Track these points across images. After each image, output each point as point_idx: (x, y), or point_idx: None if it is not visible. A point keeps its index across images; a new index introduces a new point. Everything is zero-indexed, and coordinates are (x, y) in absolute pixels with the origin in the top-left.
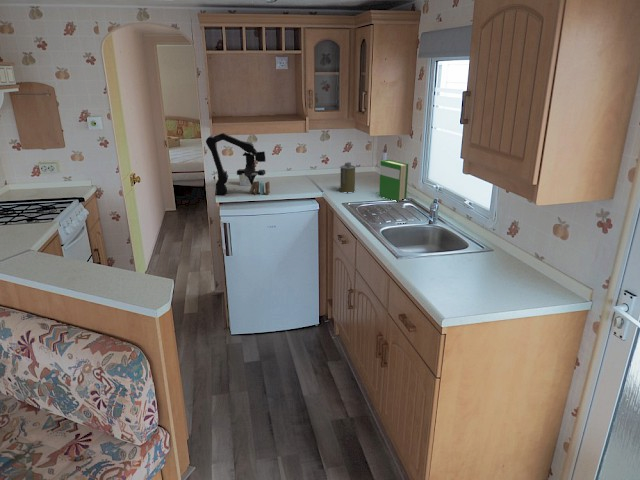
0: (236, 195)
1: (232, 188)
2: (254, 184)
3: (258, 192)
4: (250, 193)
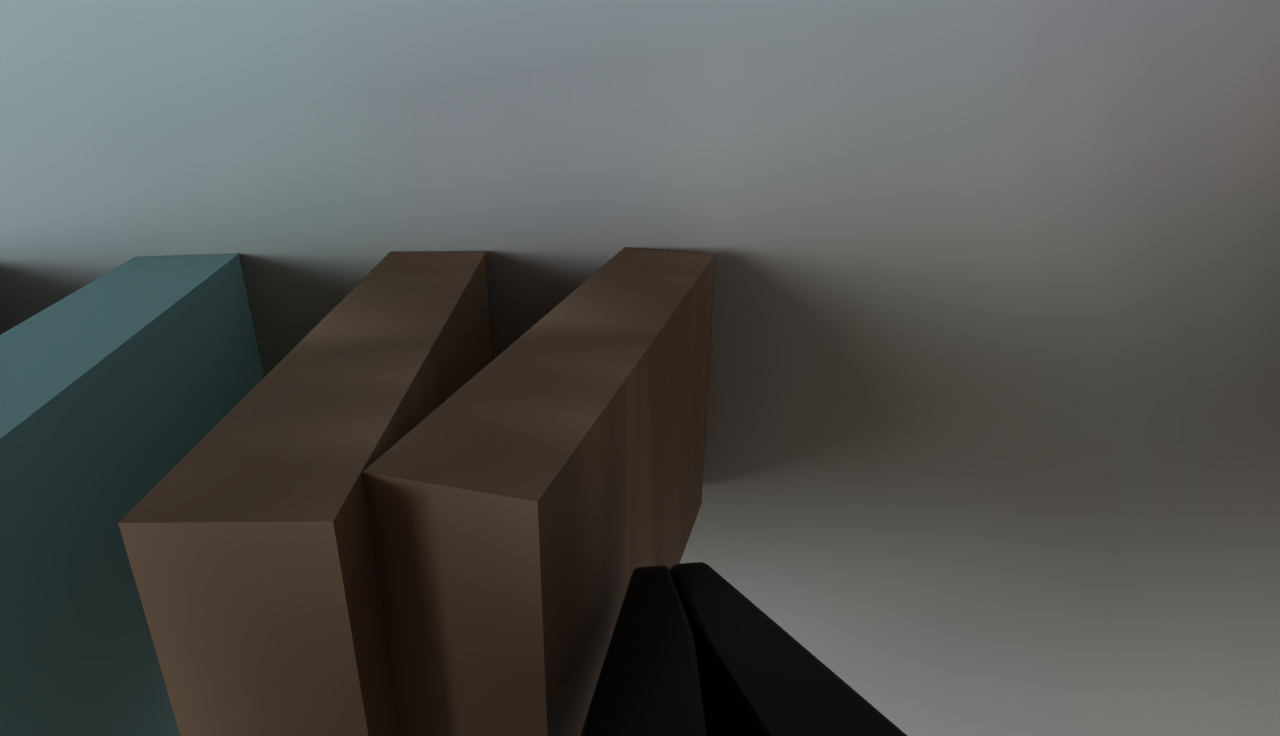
0: (1152, 3)
1: (1275, 713)
2: (395, 448)
3: None
4: (650, 257)
